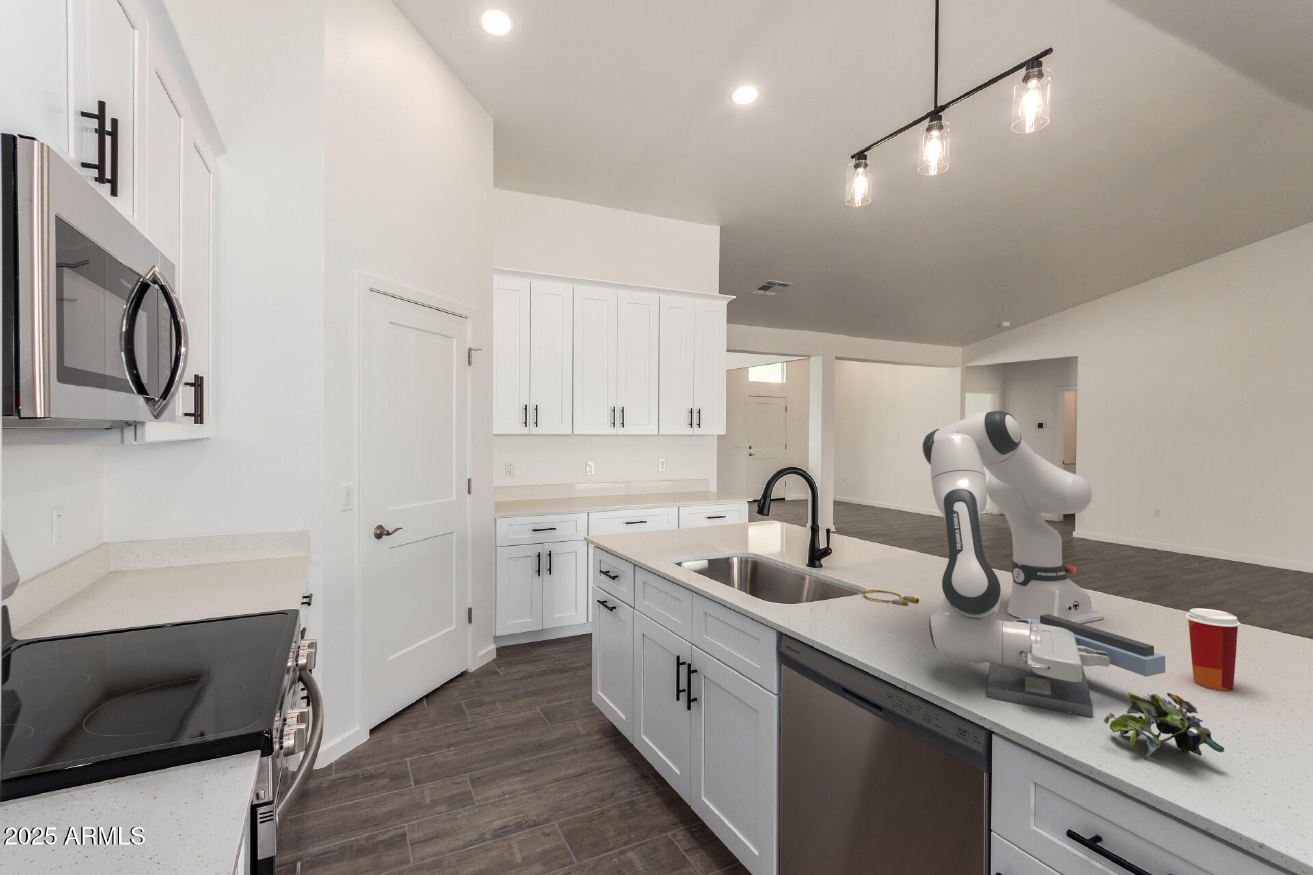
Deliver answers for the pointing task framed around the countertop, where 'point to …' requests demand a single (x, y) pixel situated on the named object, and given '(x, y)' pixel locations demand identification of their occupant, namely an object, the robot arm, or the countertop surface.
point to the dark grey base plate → (1039, 690)
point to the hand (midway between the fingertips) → (1108, 659)
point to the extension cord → (895, 601)
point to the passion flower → (1164, 723)
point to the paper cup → (1213, 647)
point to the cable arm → (1112, 646)
